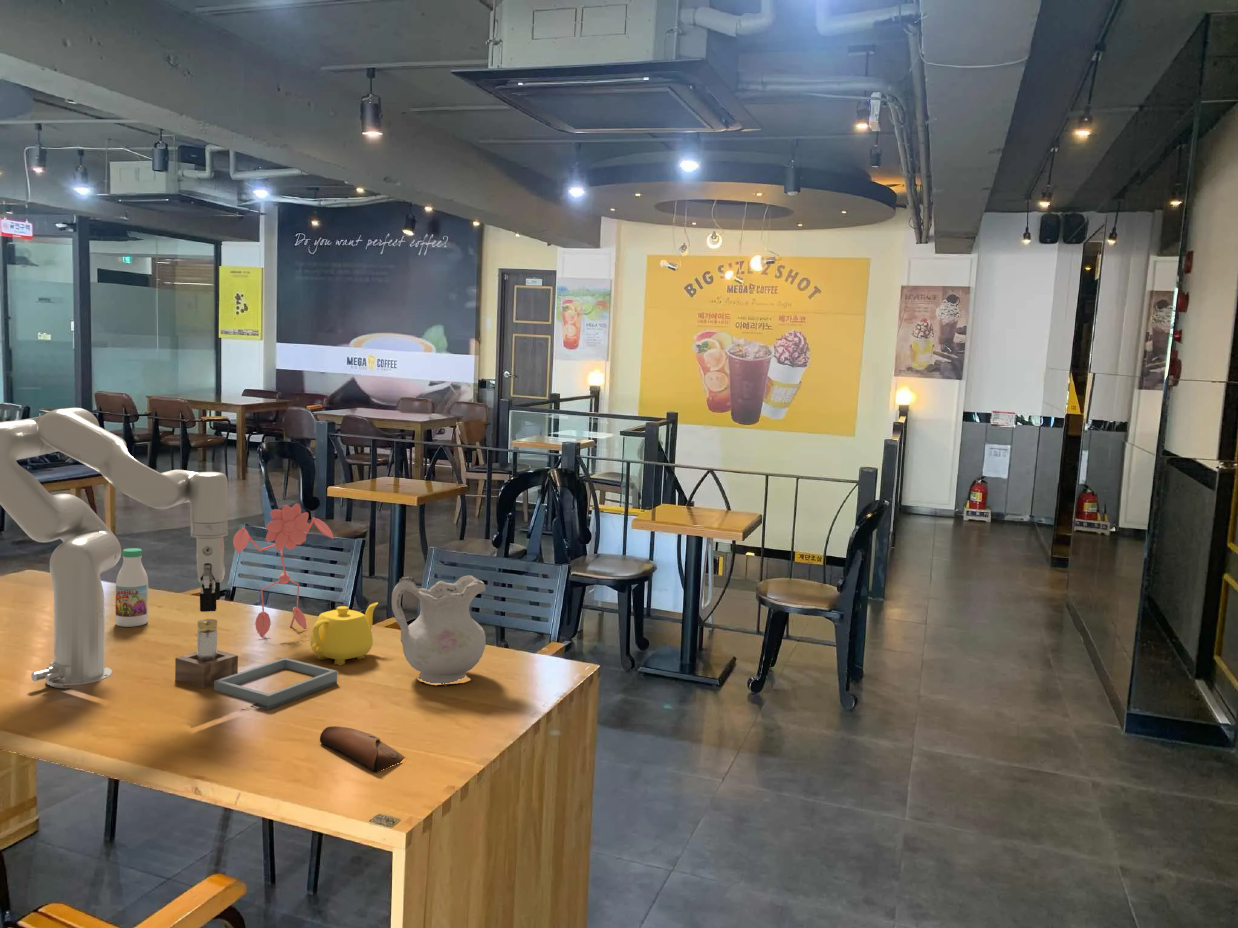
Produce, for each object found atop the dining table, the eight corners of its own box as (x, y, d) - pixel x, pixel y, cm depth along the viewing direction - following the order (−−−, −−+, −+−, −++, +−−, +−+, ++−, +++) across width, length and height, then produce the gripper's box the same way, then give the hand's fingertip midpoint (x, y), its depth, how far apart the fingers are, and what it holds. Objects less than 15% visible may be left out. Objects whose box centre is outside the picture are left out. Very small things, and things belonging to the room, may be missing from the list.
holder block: (203, 692, 203) (204, 665, 202) (175, 684, 206) (175, 657, 206) (237, 681, 211) (237, 655, 210) (209, 673, 215) (209, 647, 214)
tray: (268, 709, 195) (268, 695, 195) (213, 694, 202) (214, 680, 202) (336, 683, 213) (337, 670, 213) (284, 669, 220) (285, 657, 219)
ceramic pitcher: (406, 702, 207) (414, 594, 203) (377, 669, 223) (384, 568, 219) (495, 689, 219) (504, 586, 215) (461, 658, 235) (469, 562, 231)
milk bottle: (118, 619, 252) (119, 546, 250) (150, 619, 254) (151, 546, 252) (112, 627, 244) (112, 552, 242) (145, 627, 247) (145, 552, 245)
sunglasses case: (412, 760, 175) (398, 735, 171) (385, 788, 170) (370, 763, 167) (356, 732, 186) (342, 708, 183) (329, 758, 182) (314, 734, 179)
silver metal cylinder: (205, 682, 206) (206, 624, 204) (192, 679, 208) (193, 621, 206) (220, 677, 209) (221, 620, 208) (207, 674, 211) (208, 617, 210)
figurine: (224, 636, 242) (228, 502, 238) (317, 621, 261) (322, 497, 257) (250, 652, 232) (255, 513, 228) (345, 635, 250) (351, 506, 246)
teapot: (294, 659, 228) (295, 608, 227) (358, 642, 244) (360, 594, 243) (331, 672, 220) (333, 619, 219) (395, 653, 237) (397, 604, 236)
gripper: (225, 535, 198) (225, 614, 200) (230, 521, 214) (231, 595, 216) (186, 536, 196) (187, 616, 197) (194, 522, 212) (195, 596, 214)
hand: (210, 605), depth 207 cm, fingers open, 9 cm apart
